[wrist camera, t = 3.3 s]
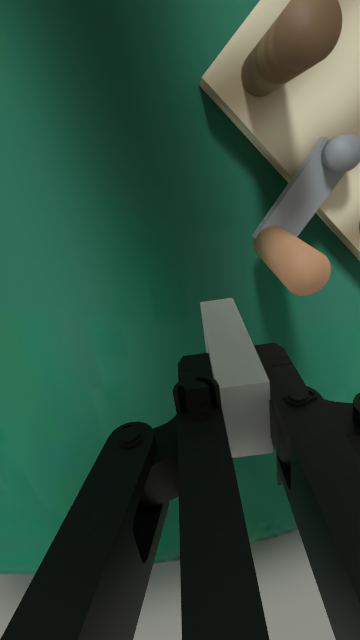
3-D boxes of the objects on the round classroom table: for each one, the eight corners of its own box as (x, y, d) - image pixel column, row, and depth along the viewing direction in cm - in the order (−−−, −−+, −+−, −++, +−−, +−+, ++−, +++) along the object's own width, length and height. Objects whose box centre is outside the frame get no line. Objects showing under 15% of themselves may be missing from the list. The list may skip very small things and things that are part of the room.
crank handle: (326, 127, 21) (402, 113, 14) (354, 150, 22) (439, 147, 15) (244, 245, 25) (274, 281, 18) (271, 262, 25) (309, 303, 18)
